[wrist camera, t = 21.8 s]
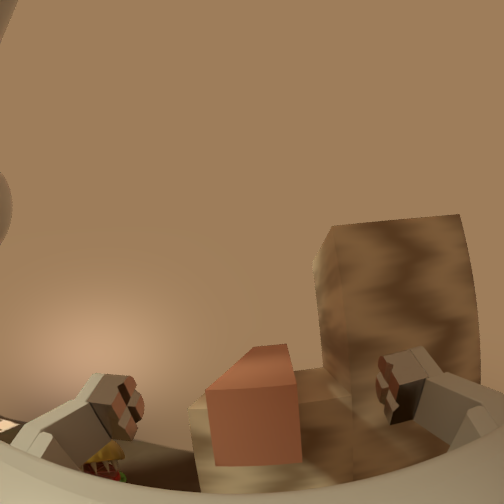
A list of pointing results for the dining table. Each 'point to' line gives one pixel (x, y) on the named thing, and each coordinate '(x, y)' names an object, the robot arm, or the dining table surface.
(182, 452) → the dining table surface
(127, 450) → the dining table surface
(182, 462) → the dining table surface
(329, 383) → the stepped stand
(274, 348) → the bar
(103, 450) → the hamburger
